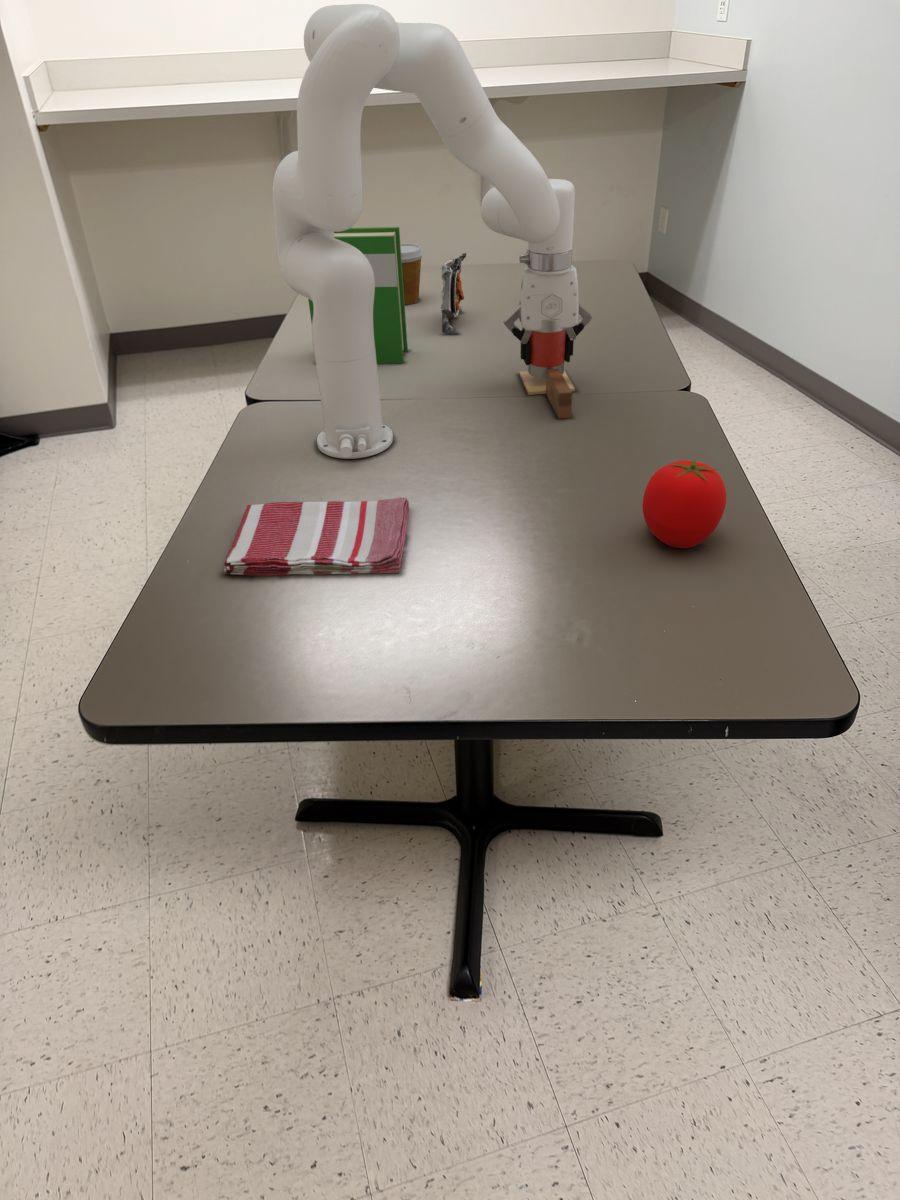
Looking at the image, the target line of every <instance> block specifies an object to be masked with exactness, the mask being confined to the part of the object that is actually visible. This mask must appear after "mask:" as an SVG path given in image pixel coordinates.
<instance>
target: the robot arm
mask: <svg viewBox="0 0 900 1200" xmlns="http://www.w3.org/2000/svg"><path fill="white" fill-rule="evenodd" d="M303 48H304V53H305V55H306V57H307V59H308V61H309V63H308V66H307V68H306V70H305V72H304V75H303V77H302V81H301V82H300V85H299V87H300V88H299V89H298V97H297V103H296V129H297V131H296V132H297V134H296V135H297V150H294V151H292V152H290V153H289V154H287V155H285V157H284V158H283V159H282V160H281V161H280V163H279V164H278V165H277V168H276V170H275V173H274V177H273V181H272V182H273V183H272V190H271V191H272V193H271V194H272V207H273V209H272V210H273V220H274V221H273V222H274V230H275V241H276V251H277V260H278V265H279V269H280V273H281V276H282V277H283V279H284V281H285V282H286V284H287V285H288V286H289V287H290V288H291V289H292V290H293V291H294V292H296V293H298V294H299V295H301V296H303V297H305V298H306V299H310V300H311V301H313V307H314V311H313V321H312V322H311V342H312V349H313V355H314V360H315V361H314V362H315V368H316V375H317V383H318V390H319V398H320V404H321V412H322V419H323V426H324V429H323V430H322V431H321V432H320V433H319V434H318V435H317V437H316V443H317V449H318V450H319V451H320V452H321V453H322V454H324V455H327V456H329V457H332V458H336V459H343V460H344V459H345V460H346V459H347V460H350V459H351V460H352V459H353V460H355V459H362V458H368V457H371V456H375V455H378V454H380V453H382V452H384V451H386V450H387V449H388V448H389V447H390V446H391V445H392V444H393V441H394V434H393V431H392V429H391V428H390V427H389V426H387V425H386V424H384V423H383V415H382V406H381V394H380V384H379V383H380V382H379V373H378V363H377V361H376V350H375V341H374V329H373V305H374V293H375V279H374V273H373V270H372V267H371V265H370V263H369V261H368V259H367V258H366V257H365V256H364V254H363V253H362V252H361V251H359V250H358V249H357V248H355V247H354V246H352V245H350V244H348V243H346V242H343V241H341V240H338V239H335V238H334V232H340V231H345V230H348V229H350V228H353V227H354V226H355V225H356V224H357V222H358V221H359V219H360V217H361V214H362V210H363V202H364V200H363V199H364V198H363V197H364V195H363V173H362V172H363V171H362V170H363V169H362V146H361V144H362V143H361V135H362V134H361V133H362V131H361V130H362V129H361V127H362V117H363V111H364V108H365V105H366V102H367V100H368V98H369V96H370V95H371V93H372V91H373V90H374V89H377V90H378V89H379V90H383V91H384V90H385V91H392V92H400V93H407V94H413V95H415V96H416V97H417V99H418V101H419V102H420V105H421V106H422V108H423V109H424V111H425V113H426V115H427V117H428V118H429V120H430V121H431V123H432V124H433V126H434V128H435V129H436V131H437V134H438V135H439V137H440V139H441V141H442V143H443V144H444V146H445V148H446V149H447V150H448V152H449V154H450V155H452V157H454V159H456V160H457V161H459V163H461V164H462V165H464V166H465V167H466V168H467V169H469V170H471V171H472V172H474V173H476V174H477V175H478V176H480V177H482V178H483V179H484V180H486V181H487V182H488V183H490V184H491V185H492V186H493V187H492V188H490V189H489V190H488V191H487V192H486V193H485V194H484V197H483V198H482V200H481V204H480V215H481V219H482V221H483V223H484V224H485V226H486V227H487V228H488V229H490V230H491V231H493V232H495V233H497V234H499V235H503V236H505V237H510V238H514V239H518V240H521V241H525V242H527V249H526V252H525V253H524V254H519V264H524V265H526V266H525V267H524V269H523V273H522V277H521V284H520V292H519V303H518V304H519V305H518V306H517V307H516V308H515V309H514V310H513V311H511V312H510V313H509V314H508V315H507V316H506V317H505V318H504V319H503V324H504V326H505V327H506V328H507V329H508V330H509V331H510V332H511V334H512V335H513V336H514V337H515V338H516V339H517V340H518V341H519V342H520V359H521V360H523V362H524V364H525V366H528V365H529V364H530V343H529V338H530V336H531V334H532V331H538V330H541V324H542V320H554V319H561V322H560V328H562V329H566V344H565V363H571V357H572V356H573V355H574V342H575V340H576V339H577V337H578V335H579V334H580V333H582V331H583V330H584V329H585V327H586V326H587V325H588V324H589V323H590V322H591V321H592V319H593V315H592V313H590V312H589V311H588V310H587V309H586V308H585V307H583V306H582V305H581V304H580V303H579V281H578V272H577V268H576V267H575V266H574V265H573V264H572V263H573V262H572V261H573V244H574V243H573V240H574V222H575V202H576V201H575V200H576V199H575V197H576V189H575V186H574V183H572V182H571V181H569V180H567V179H563V178H562V179H561V178H548V176H547V174H546V172H545V170H544V168H543V167H542V165H541V164H540V162H539V160H538V159H537V158H536V157H535V155H534V154H533V153H532V152H531V151H530V149H528V148H527V147H526V145H525V144H524V143H523V142H522V141H521V140H520V139H519V138H518V137H517V135H515V133H514V132H513V131H512V130H511V129H510V128H509V127H508V126H507V125H506V124H505V123H504V122H503V121H502V120H501V119H500V117H499V115H497V113H496V111H495V109H494V107H493V106H492V104H491V101H490V99H489V98H488V96H487V94H486V92H485V90H484V88H483V86H482V84H481V82H480V80H479V78H478V76H477V74H476V73H475V69H474V68H473V66H472V64H471V62H470V60H469V58H468V57H467V55H466V53H465V51H464V48H463V47H462V44H461V43H460V41H459V40H458V38H457V36H456V35H455V34H454V33H453V31H451V30H450V29H449V28H447V27H446V26H445V25H442V24H438V23H431V22H427V23H426V22H399V21H396V19H395V18H394V17H393V15H392V14H391V13H390V12H389V11H387V10H386V9H385V8H382V7H380V6H378V5H374V4H368V3H349V4H332V5H325V6H323V7H320V8H319V9H317V10H315V11H314V12H313V13H312V15H310V17H309V18H308V21H307V22H306V24H305V27H304V30H303ZM579 315H580V318H579ZM517 320H519V322H520V324H521V326H522V327H521V329H520V328H519V327H518V326H517V325H515V322H516V321H517Z"/></svg>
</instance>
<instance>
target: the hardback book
mask: <svg viewBox="0 0 900 1200" xmlns="http://www.w3.org/2000/svg"><path fill="white" fill-rule="evenodd" d="M334 238H335V239H338V240H341V241H343V242H346V243H348V244H350V245H352V246H354V247H355V248H357V249H358V250H359V251H361V252H362V253H363V254H364V256H365V257H366V258H367V259H368V261H369V263H370V265H371V267H372V270H373V273H374V279H375V293H374V305H373V329H374V341H375V350H376V361H377V364H404V362H405V361H404V360H405V359H404V353H407V352H408V351H409V348H408V333H407V319H406V304H405V303H404V288H403V274H402V259H401V245H400V244H401V232H400V226H378V227H374V226H373V227H351V228H350V229H348V230H345V231H340V232H334ZM307 299H308V298H307ZM307 301H308V307H309V315H310V321H311V323H312V321H313V311H314V307H313V301H311V300H310V299H308V300H307Z"/></svg>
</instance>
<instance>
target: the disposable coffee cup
mask: <svg viewBox="0 0 900 1200" xmlns="http://www.w3.org/2000/svg"><path fill="white" fill-rule="evenodd" d="M400 245H401V259H402V274H403V288H404V303H405V305H413V304H416V303H418V302H419V300H420V285H421V284H420V283H421V268H422V267H421V266H422V258H423V255H424V252H423V251H422V248H421V246H420V245H418V244H415V243H400Z"/></svg>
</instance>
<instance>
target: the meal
mask: <svg viewBox="0 0 900 1200" xmlns="http://www.w3.org/2000/svg"><path fill="white" fill-rule="evenodd" d="M466 257H467V252H464V253H462V254H461V255H458V256H456V257H455V258H450V259H448V260H447V261H445V262H444V265H442V266H441V279H442V286H443V287H442V290H441V301H442V302H441V305H440V311H441V333H442V334H444V335H459V332H458V331H457V329H454V328H453V326H452V325H450V321H449V319H455V318H457V317H458V316H459V314H460V313H463V308H462V306H461V301H463V300H465V294H464V290H463V286H462V285H463V283H462V280H461V273H462V262H463V261H464V260H465V259H466Z"/></svg>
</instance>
